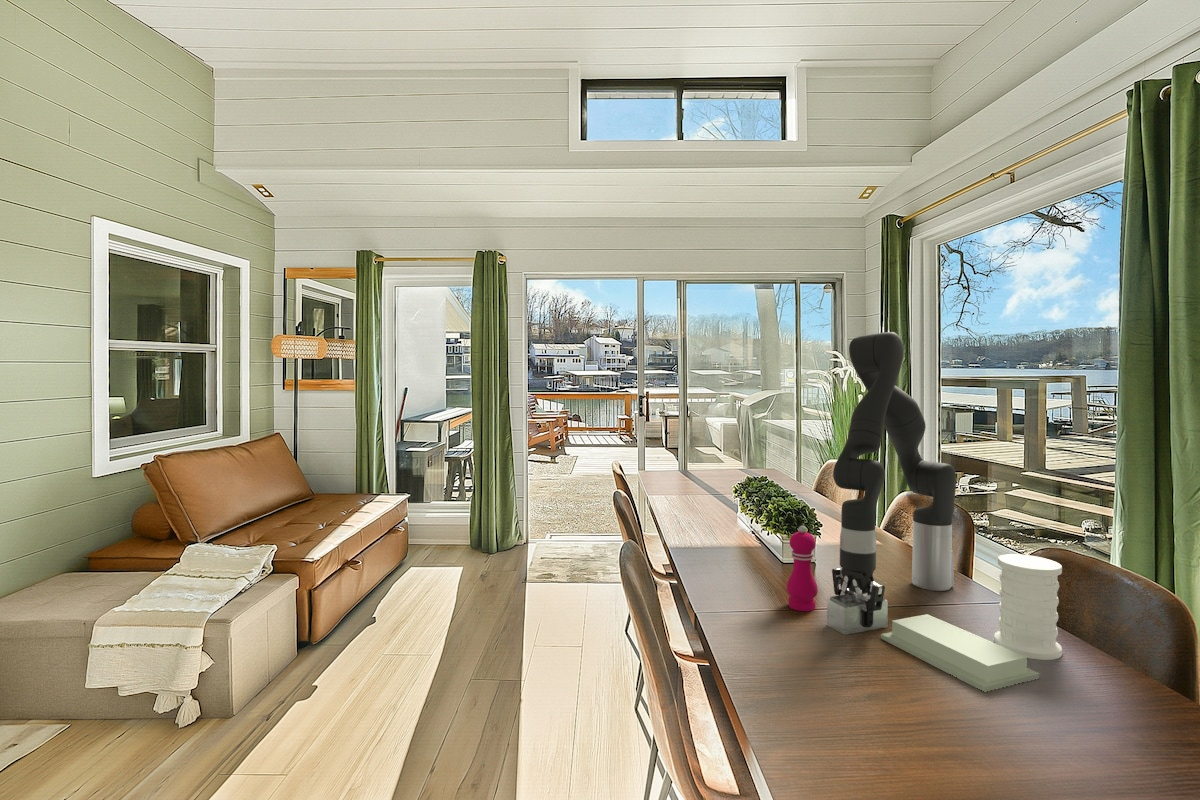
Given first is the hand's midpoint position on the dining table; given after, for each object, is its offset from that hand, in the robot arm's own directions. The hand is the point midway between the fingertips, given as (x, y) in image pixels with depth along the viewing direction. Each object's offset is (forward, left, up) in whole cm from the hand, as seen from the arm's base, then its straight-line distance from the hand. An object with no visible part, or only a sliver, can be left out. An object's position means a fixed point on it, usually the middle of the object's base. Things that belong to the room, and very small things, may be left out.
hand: (856, 621), depth 139 cm
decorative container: (-25, +21, -1) cm, 33 cm away
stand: (-7, +19, -1) cm, 20 cm away
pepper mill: (+4, -14, -1) cm, 15 cm away
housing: (0, 0, -1) cm, 1 cm away
